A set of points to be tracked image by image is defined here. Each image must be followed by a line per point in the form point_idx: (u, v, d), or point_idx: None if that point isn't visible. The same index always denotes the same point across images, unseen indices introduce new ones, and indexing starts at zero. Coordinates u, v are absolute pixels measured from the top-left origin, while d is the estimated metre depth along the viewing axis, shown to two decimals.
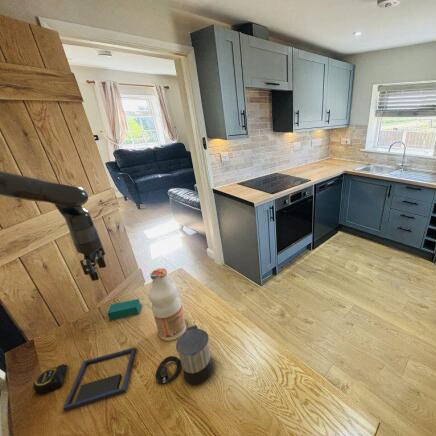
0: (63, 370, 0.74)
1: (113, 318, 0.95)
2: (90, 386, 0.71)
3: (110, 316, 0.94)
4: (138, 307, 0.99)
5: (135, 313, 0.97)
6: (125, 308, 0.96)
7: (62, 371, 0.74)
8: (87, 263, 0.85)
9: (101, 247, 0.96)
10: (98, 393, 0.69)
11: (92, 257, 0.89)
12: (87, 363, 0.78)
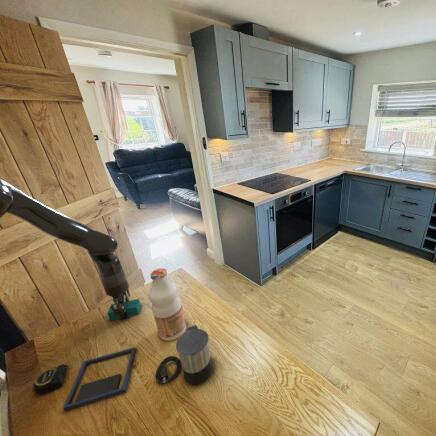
0: (63, 370, 0.74)
1: (113, 318, 0.95)
2: (90, 386, 0.71)
3: (110, 316, 0.94)
4: (138, 307, 0.99)
5: (135, 313, 0.97)
6: (125, 308, 0.96)
7: (62, 371, 0.74)
8: (118, 308, 0.90)
9: (127, 288, 1.00)
10: (98, 393, 0.69)
11: (120, 299, 0.92)
12: (87, 363, 0.78)
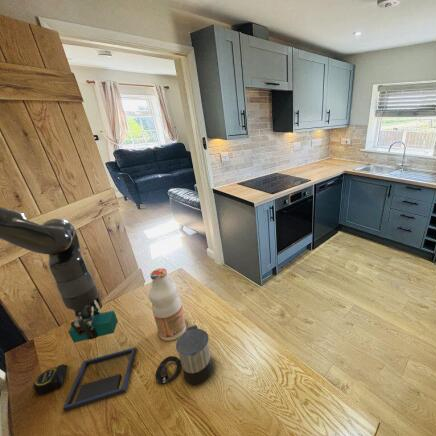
0: (63, 370, 0.74)
1: (77, 338, 0.70)
2: (90, 386, 0.71)
3: (73, 335, 0.69)
4: (113, 321, 0.74)
5: (108, 330, 0.73)
6: (94, 324, 0.71)
7: (62, 371, 0.74)
8: (81, 325, 0.65)
9: (98, 296, 0.75)
10: (98, 393, 0.69)
11: (86, 312, 0.67)
12: (87, 363, 0.78)
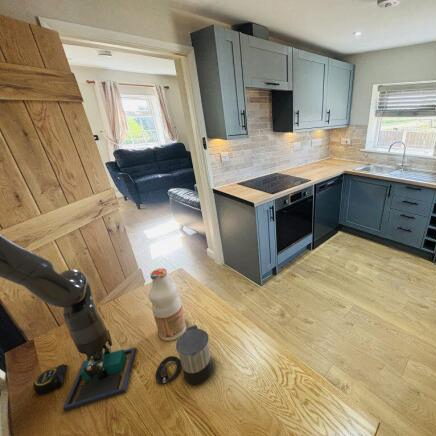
0: (63, 370, 0.74)
1: (89, 378, 0.73)
2: (90, 386, 0.71)
3: (84, 376, 0.72)
4: (122, 361, 0.77)
5: (118, 370, 0.75)
6: (105, 365, 0.74)
7: (62, 371, 0.74)
8: (93, 369, 0.68)
9: (108, 336, 0.78)
10: (98, 393, 0.69)
11: (97, 356, 0.70)
12: None
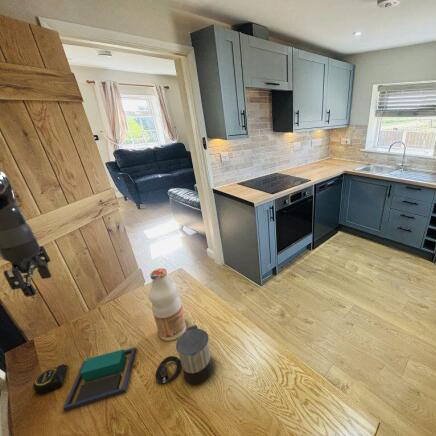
0: (63, 370, 0.74)
1: (89, 378, 0.73)
2: (90, 386, 0.71)
3: (84, 376, 0.72)
4: (122, 361, 0.77)
5: (118, 370, 0.75)
6: (105, 365, 0.74)
7: (62, 371, 0.74)
8: (14, 274, 0.63)
9: (43, 252, 0.74)
10: (98, 393, 0.69)
11: (24, 266, 0.66)
12: None
